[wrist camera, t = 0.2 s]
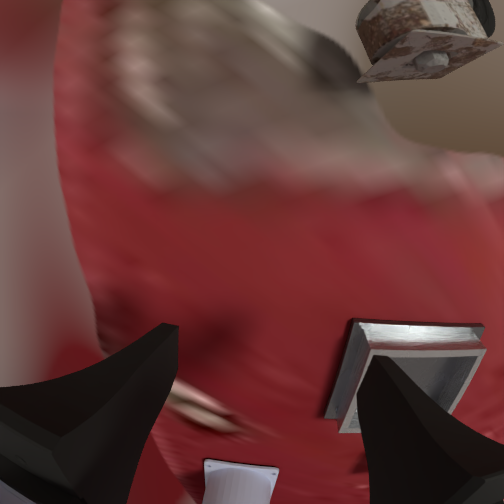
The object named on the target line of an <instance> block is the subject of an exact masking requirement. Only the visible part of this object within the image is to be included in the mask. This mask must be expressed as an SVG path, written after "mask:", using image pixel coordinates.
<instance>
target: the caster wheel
mask: <svg viewBox="0 0 504 504" xmlns="http://www.w3.org/2000/svg"><path fill="white" fill-rule="evenodd" d="M356 30H357V32H358V35H359V37H360V39H361V41H362V43H363V45H364V48H365V50H366V52H367V55H368V57H369V59H370V61H371V64H372V65H373V66H372V67H371V68H370V69H369V70H368V71H367V72H366V73H365V74H364V75H363V76H362V77H361V78H360V79H358V80H357V81H356V82H357V83H368V82H379V81H392V80H409V79H437V78H442V77H443V76H445V75H447V74H449V73H451V72H452V71H454V70H456V69H458V68H460V67H462V66H463V65H465V64H467V63H469V62H471V61H473V60H475V59H476V58H478V57H480V56H482V55H484V54H486V53H488V52H490V51H492V50H494V49H496V48H498V47H500V46H501V45H503V43H502V42H499V41H494V40H490V39H488V38H489V37H490V36H491V35H492V34H493V32H494V30H495V16H494V13H493V9H492V7H491V4H490V2H489V0H370V1H369V2H368V3H367V4H366V5H365V6H364V7H363V8H362V10H361V11H360V13H359V15H358V17H357V20H356Z"/></svg>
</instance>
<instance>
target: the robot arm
mask: <svg viewBox="0 0 504 504" xmlns="http://www.w3.org/2000/svg"><path fill="white" fill-rule="evenodd" d="M178 329H179V326H176V325H171V324H166V323H162V324H160V325H159V326H157V327H156V328H154V329H153V330H151V331H150V332H148V333H147V334H145V335H144V336H142V337H141V338H139V339H138V340H136V341H135V342H133V343H132V344H130V345H129V346H127V347H126V348H124V349H122V350H121V351H119V352H117V353H115V354H113V355H112V356H110V357H108V358H106V359H105V360H103V361H101V362H99V363H96V364H94V365H92V366H90V367H87V368H85V369H83V370H80V371H77V372H74V373H71V374H69V375H65V376H62V377H60V378H56V379H52V380H48V381H44V382H39V383H34V384H28V385H20V386H11V387H0V504H126V503H127V499H128V496H129V492H130V488H131V484H132V481H133V478H134V475H135V472H136V469H137V465H138V462H139V459H140V456H141V453H142V450H143V448H144V444H145V442H146V440H147V438H148V435H149V433H150V431H151V429H152V427H153V425H154V423H155V421H156V419H157V417H158V415H159V413H160V411H161V409H162V407H163V405H164V403H165V401H166V399H167V397H168V395H169V393H170V391H171V388H172V385H173V382H174V379H175V376H176V373H177V370H178ZM356 398H357V412H358V419H359V424H360V429H361V434H362V439H363V443H364V448H365V453H366V458H367V463H368V470H369V486H370V504H504V501H503V499H504V445H503V444H500V443H498V442H496V441H494V440H491V439H489V438H487V437H485V436H483V435H481V434H480V433H478V432H476V431H474V430H473V429H471V428H469V427H468V426H466V425H465V424H463V423H462V422H460V421H459V420H457V419H456V418H454V417H453V416H452V415H450V414H449V413H448V412H446V411H445V410H444V409H443V408H442V407H440V406H439V405H438V404H437V403H436V402H435V401H434V400H432V399H431V398H430V397H429V396H428V395H427V394H426V393H425V392H424V391H423V390H422V389H421V388H420V387H419V386H418V385H417V384H416V383H415V382H414V381H413V380H412V379H411V378H410V377H409V376H408V375H407V374H406V373H405V372H404V371H403V370H402V369H401V368H400V367H399V366H398V365H397V364H396V363H395V362H394V361H393V360H392V359H391V358H390V357H388V356H383V355H373V357H372V359H371V361H370V364H369V366H368V369H367V371H366V373H365V375H364V378H363V380H362V382H361V384H360V387H359V389H358V391H357V393H356ZM204 470H205V486H206V489H205V494H204V498H203V502H202V504H270V497H271V494H272V492H273V489H274V486H275V483H276V479H277V476H278V473H279V469H278V468H276V467H265V466H255V465H246V464H238V463H230V462H224V461H217V460H211V459H206V460H205V461H204Z"/></svg>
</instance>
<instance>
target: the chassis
mask: <svg viewBox="0 0 504 504" xmlns="http://www.w3.org/2000/svg"><path fill="white" fill-rule="evenodd" d="M484 329H485V327H484V325H483V324H478V323H435V322H411V321H391V320H375V319H360V318H353V319H352V322H351V326H350V330H349V334H348V337H347V341H346V344H345V348H344V351H343V355H342V358H341V361H340V365H339V368H338V371H337V374H336V378H335V381H334V384H333V387H332V390H331V393H330V396H329V399H328V402H327V405H326V408H325V411H324V418H328V419H337V425H338V433H361V429H360V424H359V419H358V412H357V398H356V393H357V391H358V389H359V387H360V384H361V382H362V380H363V378H364V375H365V373H366V371H367V369H368V366H369V364H370V361H371V359H372V357H373V355H383V356H388V357H390V358H391V359H392V360H393V361H394V362H395V363H396V364H397V365H398V366H399V367H400V368H401V369H402V370H403V371H404V372H405V373H406V374H407V375H408V376H409V377H410V378H411V379H412V380H413V381H414V382H415V383H416V384H417V385H418V386H419V387H420V388H421V389H422V390H423V391H424V392H425V393H426V394H427V395H428V396H429V397H430V398H431V399H432V400H434V401H435V402H436V403H437V404H438V405H439V406H440V407H442V408H443V409H444V410H445V411H446V412H448V413H449V414H450V415H451V413H452V412H453V410H454V409H455V407H456V405H457V404H458V402H459V400H460V399H461V397H462V395H463V394H464V392H465V390H466V388H467V386H468V385H469V383H470V381H471V379H472V377H473V375H474V374H475V372H476V370H477V368H478V366H479V364H480V362H481V360H482V358H483V356H484V354H485V352H486V347H485V346H484V345H483V344H482V342H481V341H480V338H481V336H482V333H483V331H484Z"/></svg>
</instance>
